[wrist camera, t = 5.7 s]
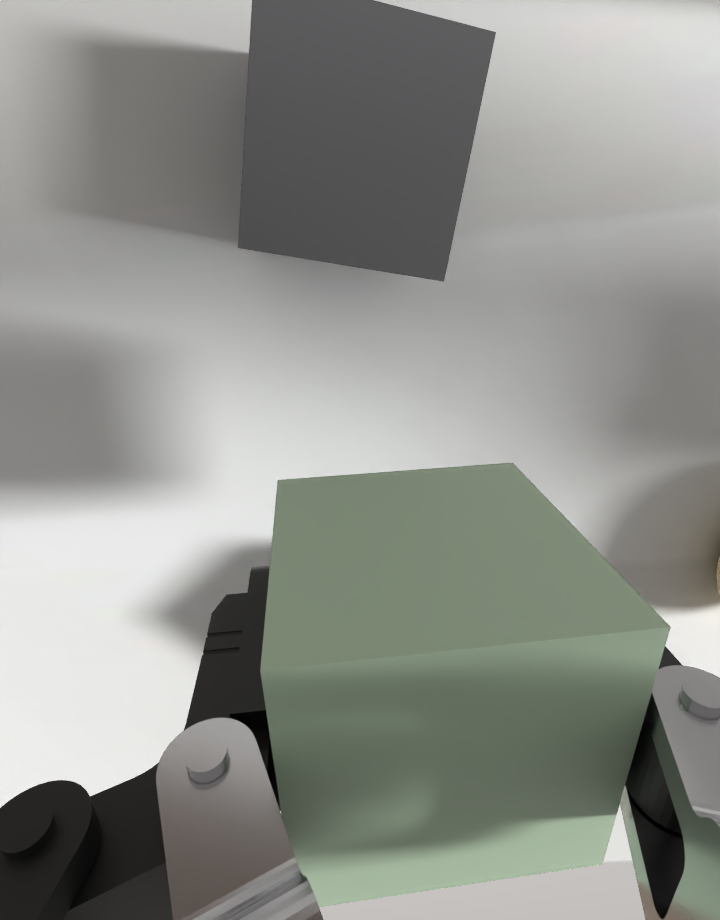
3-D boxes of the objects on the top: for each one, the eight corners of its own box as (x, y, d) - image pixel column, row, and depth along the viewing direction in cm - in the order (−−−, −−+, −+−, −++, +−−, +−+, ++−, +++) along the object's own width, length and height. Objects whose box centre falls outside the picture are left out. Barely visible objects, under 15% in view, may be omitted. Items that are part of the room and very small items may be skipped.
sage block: (512, 462, 11) (671, 627, 6) (493, 641, 13) (602, 864, 8) (277, 479, 10) (260, 670, 6) (297, 662, 12) (295, 910, 8)
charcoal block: (434, 95, 15) (495, 32, 10) (402, 270, 17) (443, 281, 12) (266, 55, 14) (254, -31, 10) (253, 245, 16) (238, 247, 12)
